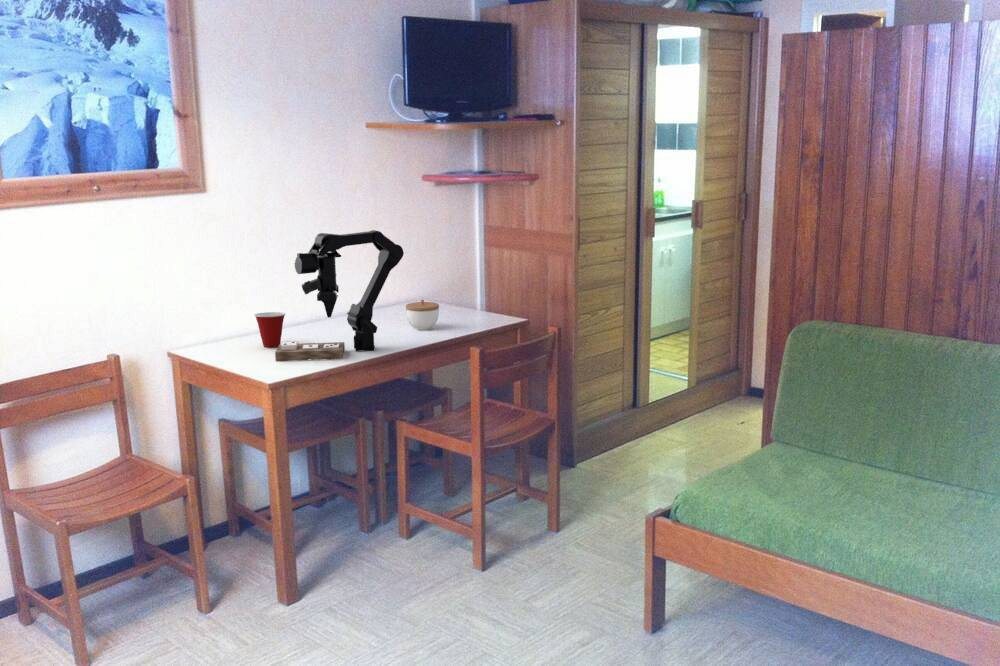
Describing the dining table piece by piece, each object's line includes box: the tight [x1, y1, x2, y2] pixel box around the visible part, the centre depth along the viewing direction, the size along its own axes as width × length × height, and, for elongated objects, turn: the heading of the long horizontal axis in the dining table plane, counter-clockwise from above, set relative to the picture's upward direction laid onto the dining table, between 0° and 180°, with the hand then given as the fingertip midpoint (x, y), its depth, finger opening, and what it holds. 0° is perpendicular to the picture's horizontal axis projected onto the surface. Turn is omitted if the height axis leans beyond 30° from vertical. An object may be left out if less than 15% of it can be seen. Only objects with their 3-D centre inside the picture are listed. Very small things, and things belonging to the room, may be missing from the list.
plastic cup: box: [253, 311, 286, 349], centre depth 335 cm, size 11×11×12 cm
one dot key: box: [302, 344, 319, 349], centre depth 321 cm, size 5×5×2 cm
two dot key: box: [280, 341, 299, 350], centre depth 320 cm, size 5×5×2 cm
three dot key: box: [323, 344, 339, 349], centre depth 322 cm, size 5×5×2 cm
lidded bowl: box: [405, 299, 440, 331], centre depth 362 cm, size 13×13×11 cm
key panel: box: [274, 341, 346, 362], centre depth 321 cm, size 22×12×3 cm, turn 96°
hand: (329, 317), depth 320 cm, fingers closed
